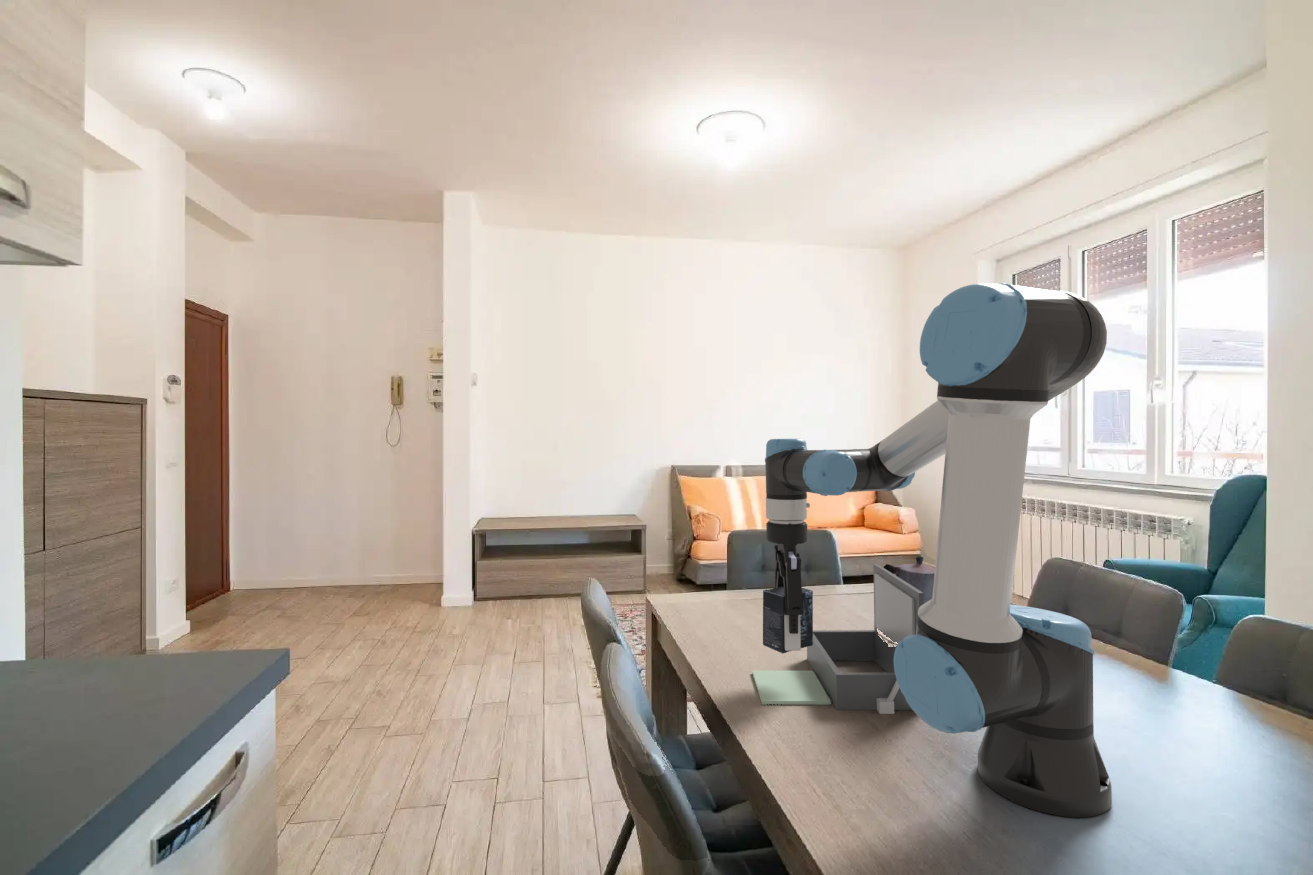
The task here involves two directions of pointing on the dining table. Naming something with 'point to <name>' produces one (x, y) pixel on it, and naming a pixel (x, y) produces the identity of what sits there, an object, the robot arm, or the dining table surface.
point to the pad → (790, 688)
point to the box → (775, 619)
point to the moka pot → (916, 576)
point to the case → (869, 649)
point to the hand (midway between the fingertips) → (787, 640)
